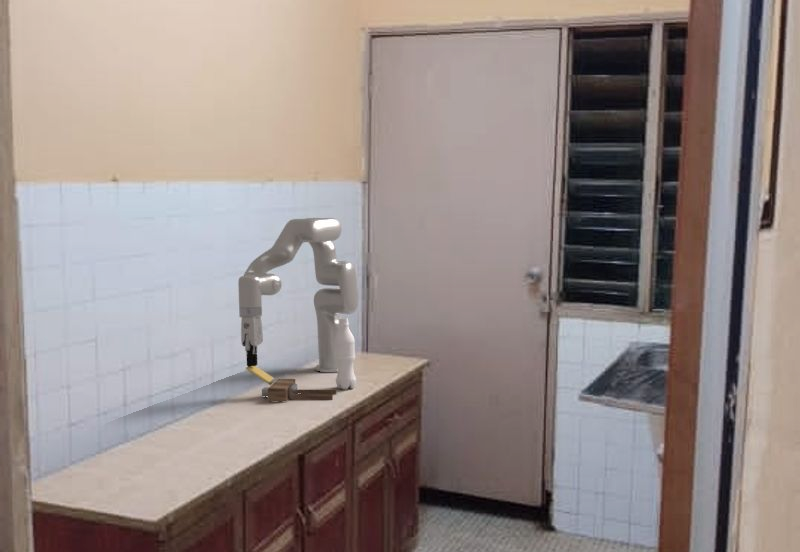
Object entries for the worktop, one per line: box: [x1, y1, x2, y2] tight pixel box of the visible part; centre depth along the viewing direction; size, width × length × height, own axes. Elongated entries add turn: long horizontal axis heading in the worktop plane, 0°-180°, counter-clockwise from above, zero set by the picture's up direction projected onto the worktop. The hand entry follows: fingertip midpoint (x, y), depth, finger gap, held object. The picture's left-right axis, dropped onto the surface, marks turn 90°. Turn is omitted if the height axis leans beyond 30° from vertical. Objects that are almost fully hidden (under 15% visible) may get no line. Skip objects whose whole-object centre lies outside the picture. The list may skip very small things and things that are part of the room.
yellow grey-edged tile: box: [245, 365, 277, 386], centre depth 291 cm, size 6×10×1 cm
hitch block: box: [267, 378, 337, 402], centre depth 290 cm, size 14×21×5 cm, turn 84°
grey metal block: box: [261, 383, 299, 398], centre depth 291 cm, size 11×6×4 cm, turn 81°
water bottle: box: [334, 316, 357, 391], centre depth 299 cm, size 7×7×25 cm
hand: (252, 365), depth 291 cm, fingers closed
